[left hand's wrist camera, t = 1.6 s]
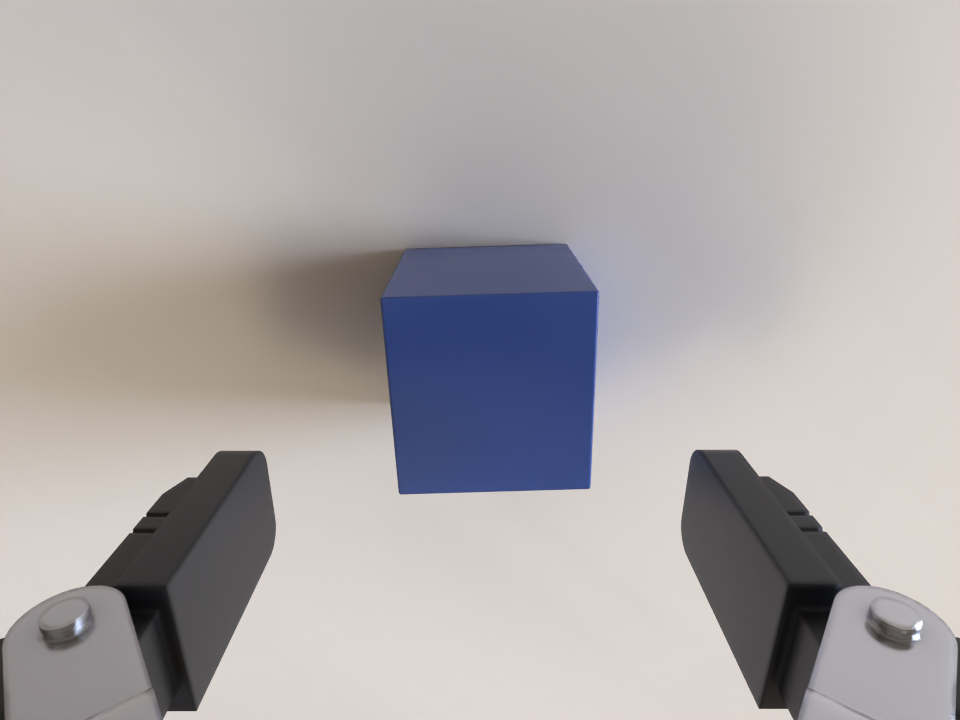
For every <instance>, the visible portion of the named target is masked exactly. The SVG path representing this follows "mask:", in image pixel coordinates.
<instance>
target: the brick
mask: <svg viewBox="0 0 960 720" xmlns="http://www.w3.org/2000/svg"><path fill="white" fill-rule="evenodd" d="M380 302H381V312H382V323H383V333H384V343H385V354H386V364H387V375H388V385H389V395H390V406H391V416H392V426H393V437H394V447H395V457H396V468H397V478H398V488H399V493H400V494H428V493H462V492H496V491H531V490H565V489H589V488H590V484H591V462H592V440H593V418H594V395H595V373H596V351H597V328H598V306H599V291H598V290H597V288H596V287H595V285H594V284H593V282H592V281H591V279H590V278H589V276H588V275H587V273H586V272H585V271H584V269H583V268H582V266H581V265H580V263H579V262H578V260H577V259H576V257H575V256H574V254H573V253H572V251H571V250H570V248H569V247H568V245H567V244H548V245H517V246H486V247H454V248H423V249H406V250H405V252H404V254H403V256H402V258H401V259H400V261H399V263H398V265H397V267H396V269H395V271H394V273H393V275H392V277H391V279H390V281H389V283H388V285H387V287H386V289H385V291H384V293H383V295H382V297H381V299H380Z"/></svg>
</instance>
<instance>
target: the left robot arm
mask: <svg viewBox="0 0 960 720" xmlns="http://www.w3.org/2000/svg"><path fill="white" fill-rule="evenodd" d="M681 532H682V541H683V546H684V549H685V552H686V555H687V557H688V559H689V561H690V563H691V565H692V568H693V570H694V572H695V574H696V576H697V578H698V580H699V582H700V585H701V587H702V589H703V591H704V593H705V595H706V597H707V599H708V602H709V604H710V606H711V608H712V610H713V612H714V614H715V616H716V618H717V621H718V623H719V625H720V627H721V629H722V631H723V633H724V635H725V638H726V640H727V642H728V644H729V646H730V648H731V650H732V652H733V655H734V657H735V659H736V661H737V663H738V665H739V667H740V669H741V671H742V674H743V676H744V678H745V680H746V682H747V684H748V686H749V688H750V691H751V693H752V695H753V697H754V699H755V701H756V703H757V705H758V708H759V709H788V710H789V712H790V714H791V715H792V717H793V719H794V720H960V638H957V637H955V636H954V634H953V633H952V631H951V629H950V628H949V627H948V626H947V624H946V623H945V622H944V621H943V620H942V619H941V618H940V617H939V616H937V615H936V614H935V613H934V612H932V611H931V610H930V609H928V608H927V607H925V606H924V605H922V604H921V603H919V602H917V601H915V600H913V599H911V598H909V597H907V596H905V595H902V594H900V593H898V592H894V591H891V590H888V589H884V588H880V587H874V586H871V585H870V584H869V583H868V582H867V580H866V579H865V578H864V577H863V576H862V574H861V573H860V572H859V571H858V570H857V568H856V567H855V566H854V565H853V564H852V562H851V561H850V560H849V559H848V558H847V556H846V555H845V554H844V553H843V552H842V550H841V549H840V548H839V547H838V546H837V544H836V543H835V542H834V541H833V540H832V539H831V537H830V536H829V535H828V534H827V533H826V532H823V530H822V527H821V525H820V524H819V523H818V522H817V521H816V519H815V518H814V517H813V516H810V515H809V511H808V510H807V509H806V507H805V506H804V505H803V504H802V503H801V501H800V500H799V499H798V498H797V497H796V495H795V494H794V493H793V492H791V491H790V490H788V489H787V488H785V487H784V486H782V485H781V484H779V483H778V482H776V481H775V480H773V479H771V478H770V477H759V476H758V475H757V473H756V472H755V471H754V469H753V468H752V467H751V466H750V464H749V463H748V462H747V460H746V459H745V458H744V456H743V455H742V454H741V453H740V452H739V451H738V450H695V451H694V452H693V454H692V456H691V460H690V466H689V472H688V479H687V486H686V493H685V499H684V506H683V513H682V520H681ZM275 533H276V522H275V514H274V508H273V501H272V495H271V488H270V481H269V475H268V468H267V462H266V458H265V456H264V454H263V452H261V451H219V452H217V453H216V454H215V456H214V457H213V458H212V459H211V461H210V462H209V463H208V464H207V466H206V467H205V468H204V470H203V471H202V472H201V473H200V475H199V476H198V477H197V478H187V479H185V480H184V481H182V482H180V483H179V484H177V485H176V486H174V487H173V488H171V489H170V490H168V491H167V492H165V493H164V494H162V495H161V497H160V498H159V499H158V500H157V501H156V503H155V504H154V505H153V506H152V507H151V509H150V510H149V511H148V512H147V516H146V517H143V518H142V519H141V520H140V522H139V523H138V524H137V525H136V526H135V528H134V529H133V533H130V534H129V535H128V536H127V537H126V538H125V539H124V541H123V542H122V543H121V544H120V545H119V547H118V548H117V549H116V550H115V551H114V553H113V554H112V555H111V556H110V557H109V558H108V560H107V561H106V562H105V563H104V564H103V566H102V567H101V568H100V569H99V570H98V572H97V573H96V574H95V575H94V576H93V577H92V579H91V580H90V581H89V582H88V583H87V585H86V586H85V587H80V588H76V589H72V590H69V591H66V592H62V593H60V594H58V595H55V596H53V597H51V598H49V599H47V600H45V601H43V602H41V603H39V604H38V605H36V606H35V607H33V608H32V609H30V610H29V611H28V612H26V613H25V614H24V615H23V616H21V617H20V618H19V619H18V620H17V621H16V622H15V623H14V624H13V626H12V627H11V628H10V629H9V631H8V633H7V634H6V636H5V638H2V639H0V720H163V718H164V716H165V714H166V712H167V711H197V709H198V707H199V705H200V702H201V700H202V698H203V696H204V694H205V692H206V690H207V688H208V686H209V684H210V681H211V679H212V677H213V675H214V673H215V671H216V669H217V667H218V665H219V663H220V661H221V658H222V656H223V654H224V652H225V650H226V648H227V646H228V644H229V642H230V640H231V638H232V635H233V633H234V631H235V629H236V627H237V625H238V623H239V621H240V619H241V617H242V614H243V612H244V610H245V608H246V606H247V604H248V602H249V600H250V598H251V596H252V594H253V591H254V589H255V587H256V585H257V583H258V581H259V579H260V577H261V575H262V573H263V570H264V568H265V566H266V564H267V562H268V560H269V558H270V556H271V553H272V550H273V546H274V541H275Z"/></svg>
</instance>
